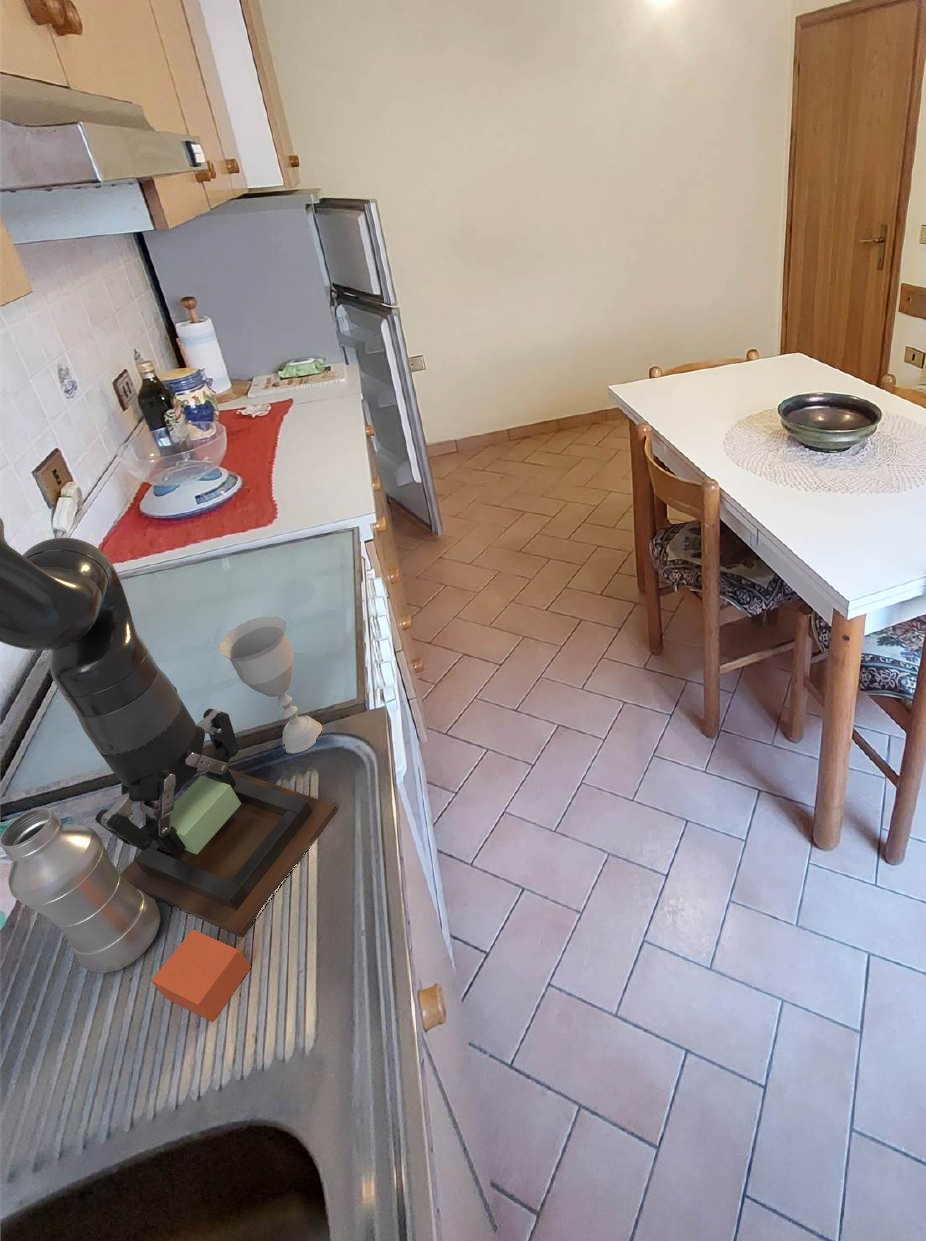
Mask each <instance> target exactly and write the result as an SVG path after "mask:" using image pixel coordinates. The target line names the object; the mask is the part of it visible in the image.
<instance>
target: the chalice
mask: <svg viewBox="0 0 926 1241" xmlns="http://www.w3.org/2000/svg"><path fill="white" fill-rule="evenodd" d="M286 628H287V625H286V621H285V619H283V618H282V617H279V616H277V615H265V616H264V615H263V616H259V617H256V618H253V619H250V620H247V621H245V622H243V623H241V624H239V625H237V626H235V627H234V628H233V629H232V630H230V631H229V632H228V633H227V634H226V635H225V636H224V637H223V638H222V640H221V642H220V644H219V653H220V654H221V656H223V657H224V658H227V659H229V661H230V662H231V664H232V666H233V668H234V670H235V672H236V673H237V675H238V678H239V680H241V682H242V683H243V684H245V685H246V686H248V687H249V688H250V689H252V690H254V691H256V692H258V693H261V694H262V695H265V696H267V697H270V698H276V697H277V699H278V702H277V705H278V707H282V708H283V711H282V714H281V715H282V717H284V718H287V719H288V720H289V721H288V722H287V723H286V724H285V725H284V728H283V730H282V736H281V739H282V741H283V744H285V748H286V753H288V754H297V753H302V752H304V751H306V750H308V749H309V748H311V747H312V746H314V745H315V744H316V743H317V742H316V738H317V737H318V735H319V734H320V733H321V731H322V732H323V725H322V724H321V723H320V722H319V721H317V720H315V719H314V718H312V717H311V716H309V715H297V711H298V706H296V705H292V701H293V697H292V696H289V695H288V694H287V693H286V692H288V690H289V689H290V688H291V686H292V680H293V677H294V676H293V675H294V672H295V652H294V650H293V648H292V646H291V643H290V641H289V639H288V637H287V635H286ZM282 741H281V742H282Z"/></svg>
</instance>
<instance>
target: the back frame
mask: <svg viewBox="0 0 926 1241" xmlns="http://www.w3.org/2000/svg"><path fill="white" fill-rule="evenodd" d="M228 770H229V771H230V773H231V775H232V776H233V778H234V780H235V784H236V786H235V787H234V790H235V794H236V796H237V797H238V799H239V801H240V802H241V805H240V806H239V807H238V808H237V810H236V811H235V812H234V813H233V814H232V815H231V816H230V818H229V819H228V820H227V821H226V822H225V823H224V824H223V826H222V827H221V828H220V829H219V830H218V831H217V832H216V834H215V835H214V836H213V837H212V838H211V839H210V840H209V842H208V843H207V844H206V845H205V846H204V847H203V848H202V850H201V851H200V852H199V853H198V854H194V853H192V852H189V851H187V850H183V851H182V852H181V853H180V852H177V851H176V852H175V853H174V854H172V853H169V852H166V851H164V850H161V849H160V848H159V846H158V845H157V843H156V842H155V841H152V844H151V846H150V847H149V848H148V849H146V850H144V851H143V850H140V852H139V854H137V856H136V857H135V858H133V860H132V862H130V863H129V864H128V865H127V866H126V867H125V869H124V870H123V871H122V872H121V873H120V874H121V876H122V877H123V878H124V879H126V880H127V881H128V882H129V883H130V884H131V885H133V886H134V887H135V888H136V889H138V890H140V891H142V892H144V893H145V894H147V895H148V896H149V897H151V898H152V899H154V900H157V901H159V902H161V901H162V902H161V903H163V904H166V905H168V904H169V905H168V906H170V905H171V907H173V906H174V907H173V908H175V907H176V908H175V909H177V908H179V909H181V910H180V911H182V910H183V911H182V912H184V911H185V912H184V913H186V912H187V913H186V914H188V913H190V914H189V915H191V914H192V915H191V916H193V915H194V916H193V917H195V916H196V917H195V918H197V917H198V918H197V919H200V920H202V919H203V920H202V921H204V922H206V921H207V922H206V923H209V924H211V925H212V926H215V925H216V926H215V927H217V928H220V927H221V928H220V929H222V928H223V929H222V930H224V929H226V930H225V931H227V930H229V931H230V932H229V931H228V932H229V933H231V932H233V933H235V934H234V935H235V936H238V937H240V938H244V937H245V936H246V935H247V933H248V932H247V931H249V930H250V929H249V927H250V926H251V925H252V923H253V921H254V920H255V918H256V917H257V915H258V913H259V911H260V910H261V908H262V907H263V905H264V904H265V903H266V902H267V900H268V898H269V897H270V896H271V894H273V892H274V891H275V890H276V889H277V888H278V886H279V885H280V884H281V882H282V881H283V880H284V879H285V878H286V877H287V875H288V874H289V873H290V872H291V870H292V868H294V866H295V865H296V864H297V863H298V862H299V863H300V862H301V860H302V859H301V858H303V857H304V856H305V855H304V853H305V852H306V851H307V850H309V849H310V848H311V847H312V846H313V844H314V843H315V841H316V840H317V839H318V837H319V836H320V835H321V833H322V832H323V830H324V829H325V828H326V827H327V825H328V824H329V822H330V821H331V820H332V819H333V817H334V816H335V814H336V813H337V812H338V807H337V805H336V804H335V803H331V802H328V801H325V800H323V799H320V798H316V797H312V796H310V795H308V794H304V793H301V792H298V791H295V790H293V789H289V788H287V787H283V786H281V785H279V784H278V785H277V784H274V783H271V782H269V781H266V780H263V779H260V778H256V777H254V776H251V775H248V774H245V773H242V772H239V771H236V770H233V769H229V768H228ZM310 846H311V847H310ZM309 847H310V848H309ZM307 852H308V851H307ZM307 852H306V853H307ZM306 853H305V854H306ZM303 855H304V856H303ZM302 856H303V857H302ZM300 859H301V860H300ZM299 863H298V864H299ZM298 864H297V865H298ZM294 869H295V868H294ZM291 873H292V872H291ZM179 909H178V910H179ZM253 924H254V923H253ZM252 926H253V925H252ZM252 926H251V927H252ZM251 927H250V928H251ZM248 929H249V930H248ZM246 932H247V933H246ZM233 933H232V934H233ZM244 935H245V936H244ZM243 936H244V937H243Z"/></svg>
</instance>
